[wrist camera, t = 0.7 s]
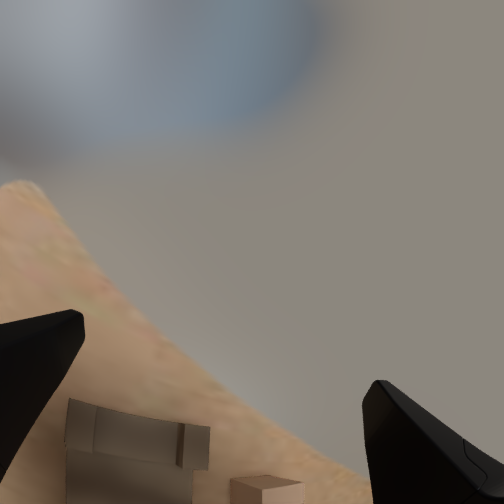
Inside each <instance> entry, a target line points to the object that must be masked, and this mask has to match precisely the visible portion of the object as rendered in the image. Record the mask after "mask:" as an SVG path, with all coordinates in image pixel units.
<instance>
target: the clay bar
mask: <svg viewBox="0 0 504 504" xmlns="http://www.w3.org/2000/svg"><path fill="white" fill-rule="evenodd" d="M231 504H304V482H299V481H294V480H289V479H284V478H279V477H274V476H270V475H265V476H256V477H245V478H231Z"/></svg>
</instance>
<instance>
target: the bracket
mask: <svg viewBox="0 0 504 504" xmlns="http://www.w3.org/2000/svg"><path fill="white" fill-rule="evenodd" d="M209 441H210V427H207V426H198V425H190V424H182V423H175V422H168V421H162V420H156V419H151V418H145V417H140V416H135V415H131V414H126V413H122V412H117V411H113V410H109V409H105V408H102V407H98V406H94V405H91V404H87V403H84V402H81V401H78V400H74V399H71V398H69V403H68V411H67V419H66V429H65V440H64V442H66V444H65V447H67V458H66V504H192V482H193V470H208V460H209Z"/></svg>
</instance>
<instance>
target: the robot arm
mask: <svg viewBox="0 0 504 504" xmlns="http://www.w3.org/2000/svg"><path fill="white" fill-rule="evenodd" d="M84 340H85V327H84V316H83V314H82V313H81V312H78V311H76V310H73V309H69V310H65V311H60V312H55V313H51V314H46V315H42V316H37V317H32V318H28V319H23V320H18V321H13V322H9V323H4V324H0V483H1V481H2V479H3V477H4V475H5V473H6V471H7V469H8V467H9V465H10V464H11V462H12V460H13V458H14V456H15V455H16V453H17V451H18V449H19V448H20V446H21V444H22V442H23V441H24V439H25V437H26V436H27V434H28V432H29V431H30V429H31V427H32V426H33V424H34V423H35V421H36V419H37V418H38V416H39V415H40V413H41V412H42V410H43V408H44V407H45V405H46V404H47V402H48V401H49V399H50V398H51V396H52V395H53V393H54V392H55V390H56V389H57V387H58V386H59V384H60V383H61V381H62V380H63V378H64V377H65V375H66V373H67V372H68V370H69V368H70V366H71V364H72V362H73V361H74V359H75V357H76V355H77V353H78V352H79V350H80V348H81V346H82V344H83V343H84ZM362 411H363V423H364V440H365V449H366V455H367V462H368V468H369V474H370V481H371V489H372V496H373V504H504V464H502V463H500V462H499V461H497V460H495V459H493V458H492V457H490V456H489V455H487V454H486V453H484V452H482V451H481V450H479V449H478V448H476V447H475V446H474V445H472V444H471V443H469V442H468V441H466V440H465V439H462V437H461V436H460V435H458V434H457V433H456V432H454V431H453V430H452V429H450V428H449V427H448V426H446V425H445V424H444V423H442V422H441V421H440V420H438V419H437V418H436V417H434V416H433V415H432V414H430V413H429V412H428V411H426V410H425V409H424V408H422V407H421V406H420V405H418V404H417V403H416V402H415V401H413V400H412V399H410V398H409V397H408V396H407V395H405V394H404V393H403V392H401V391H400V390H399V389H398V388H396V387H395V386H394V385H392V384H391V383H390V382H388V381H386V380H376V381H374V382H373V383H372V385H371V387H370V389H369V390H368V392H367V394H366V395H365V397H364V399H363V402H362Z"/></svg>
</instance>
